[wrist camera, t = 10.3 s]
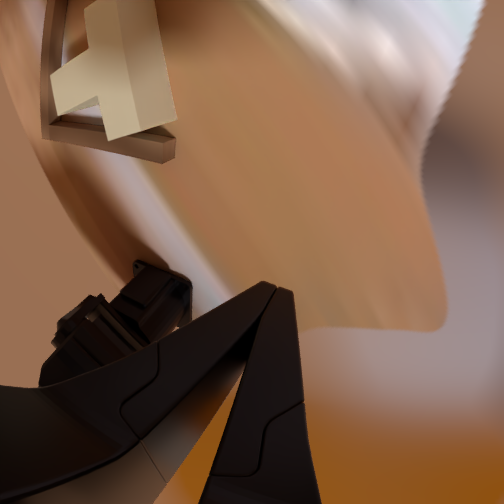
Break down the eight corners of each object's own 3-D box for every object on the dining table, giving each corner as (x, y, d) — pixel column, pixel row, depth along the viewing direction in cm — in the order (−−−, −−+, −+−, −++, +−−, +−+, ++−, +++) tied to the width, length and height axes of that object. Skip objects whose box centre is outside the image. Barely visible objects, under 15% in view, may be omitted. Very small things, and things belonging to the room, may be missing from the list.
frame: (174, 158, 21) (162, 164, 20) (53, 134, 24) (42, 138, 23) (203, -53, 11) (191, -59, 10) (62, -15, 15) (50, -16, 14)
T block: (177, 119, 19) (140, 131, 16) (103, 140, 22) (67, 155, 19) (153, -5, 14) (114, -12, 11) (82, 37, 17) (45, 40, 14)
